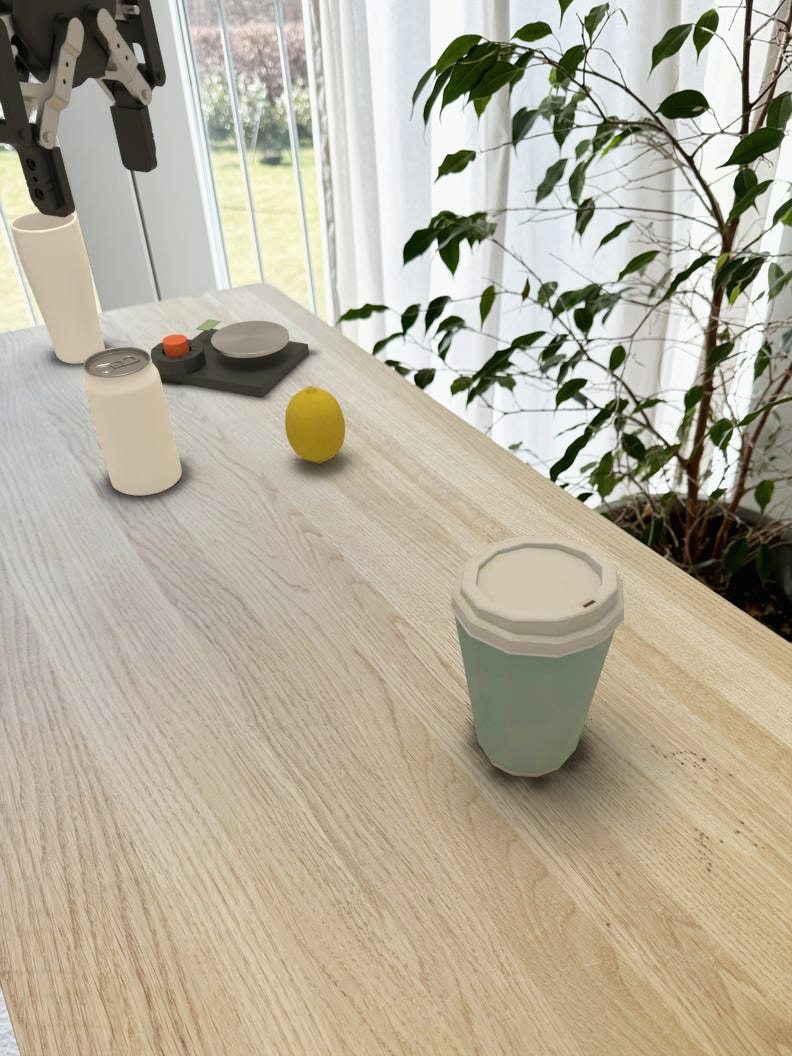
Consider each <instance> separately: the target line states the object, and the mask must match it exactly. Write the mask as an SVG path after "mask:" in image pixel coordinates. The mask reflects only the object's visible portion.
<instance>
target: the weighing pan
mask: <svg viewBox="0 0 792 1056" xmlns="http://www.w3.org/2000/svg"><path fill="white" fill-rule="evenodd" d="M220 323H221V320H217V319H211V318H208V319H206V320H205V321H203V322H202V323H201V324H200V325H198V326H197V327H196V328H195V329H196V330H199V331H209V330H211V329H214V328H215V327H216V326H217V325H219V324H220ZM289 341H290V332H289V331H288V329H287V328H286V327H285V326H283V325H281V324H279V323H276V322H272V321H267V320H247V321H239V322H234V323H232V324H231V323H230V324H228V325H226V326H224V327H222V328H220V329H218V331H217V332H215V333H214V335H213V336H212V338H211V344H212V348H213V349H214V350H215V351H216V352H217V353H219V354H221V355H224V356H228V357H233V358H254V357H261V356H265V355H269V354H272V353H274V352H277V351H279V350H280V349H282V348H283V347H285V346H286V345H287V343H288V342H289Z"/></svg>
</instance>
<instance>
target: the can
mask: <svg viewBox="0 0 792 1056" xmlns="http://www.w3.org/2000/svg"><path fill="white" fill-rule="evenodd" d="M82 367H83V370H84V375H83V379H82V381H83V382H82V384H83V389H84V393H85V396H86V400H87V403H88V407H89V411H90V414H91V418H92V421H93V425H94V428H95V432H96V435H97V439H98V442H99V445H100V449H101V452H102V457H103V460H104V463H105V466H106V469H107V473H108V477H109V481H110V483H111V486H112V488H114V489H115V490H116V491H118V492H119V493H122V494H125V495H130V496H136V497H137V496H141V497H143V496H150V495H154V494H158V493H161V492H164V491H166V490H168V489H170V488H172V487H173V486H174V485H176V483H177V482H179V480H180V479H181V477H182V474H183V470H182V465H181V464H182V463H181V459H180V455H179V452H178V447H177V443H176V438H175V433H174V429H173V425H172V421H171V417H170V413H169V408H168V404H167V400H166V395H165V393H164V387H163V384H162V380H161V379H160V375H159V372H158V370H157V368H156V367H155V365H154V364H153V363H152V360H151V354H150V353H149V352H148V351H147V350H144V349H142V348H140V347H134V346H116V347H110V348H105V350H102V351H99V352H97V353H95V354H93V355H91V356H90V357H88V358H87V359H86V360H85V362H84V363H82Z"/></svg>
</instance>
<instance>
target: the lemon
mask: <svg viewBox="0 0 792 1056" xmlns="http://www.w3.org/2000/svg"><path fill="white" fill-rule="evenodd" d="M344 416H345V415H344V414H343V410H342V408H341V406H340V403H339V401H338V400H337V399H336V398H335V396H333V394H332V393H330V392H328V391H327V390H325V389H322V388H319V387H315V386H313V385H309V386H307V387H306V388H303V389H301V390H300V391H298V392H295V394H293V396H292V397H291V398H290V400H289V402H288V403H287V406H286V410H285V416H284V426H285V427H284V428H285V435H286V438H287V442H288V443H289V445H290V447H291V449H292V450H293V451H294V452H295V454H296V455H298V456H299V457H300V458H302V459H303V460H306V461H309V462H312V463H313V462H314V463H316V464H318V465H321V464H323V463H324V462H327V461H329V460H330V459H332V458H334V457H335V456H336V455H337V454H338V453H339V452H340V450H341V449H342V447H343V445H344V442H345V438H346V437H345V436H346V421H345V417H344Z"/></svg>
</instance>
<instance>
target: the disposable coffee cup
mask: <svg viewBox="0 0 792 1056" xmlns="http://www.w3.org/2000/svg"><path fill="white" fill-rule="evenodd" d="M454 578H455V579H454V582H453V587H452V593H451V599H450V604H449V609H450V611H451V612H452V614H453V615H454V621H455V625H456V630H457V631H456V632H457V636H458V642H459V647H460V652H461V658H462V663H463V668H464V673H465V679H466V686H467V691H468V695H469V701H470V707H471V712H472V717H473V723H474V728H475V734H476V739H477V743H478V744H479V746H480V748H481V749H482V751H483V753H484V754H485V755H486V757H487V759H488V760H489V762H490V764H491V765H492V766H493V767H495V768H497V769H499V770H501V771H503V772H504V773H507V774H509V775H511V776H514V777H515V776H516V777H529V778H539V777H541V776H543V775H547V774H549V773H552V772H555V771H558V770H559V769H560V768H561V767H562V766H563V765H564V764H565V762H567V760H568V759H569V758H570V757H571V755H572V754H573V753H574V752H575V751H576V750H577V747H578V744H579V741H580V738H581V735H582V733H583V732H582V731H583V729H584V726H585V723H586V719H587V717H588V713H589V712H590V711H589V710H590V708H591V705H592V702H593V698H594V695H595V692H596V689H597V687H598V684H599V681H600V677H601V674H602V671H603V668H604V664H605V662H606V659H607V656H608V653H609V650H610V647H611V644H612V641H613V638H614V636H615V635H614V634H615V632H616V630H617V629H618V628H619V626H621V624H622V623H623V622H624V621H625V598H624V595H625V594H624V584H623V583H624V581H623V580H624V579H622V578H621V577H620V576H619V574H618V566H617V565H616V564H615V563H613V561H611V560H610V559H609V558H608V557H607V556H605V554H603V553H602V552H601V551H600V550H599V549H598V548H597V547H595V546H593V545H590V544H587V543H583V542H580V541H577V540H574V539H571V538H568V537H564V536H561V535H528V534H527V535H526V534H523V535H519V536H515V537H511V538H507V539H504V540H499V541H496V542H492V543H489V544H487V545H486V546H484V547H482V548H481V549H480V550H478V551H477V552H476V553H475V554H474V555H472V557H470V558H469V559H468V560H466V561H465V562H464V563H463V564H461V565H460V566H459V567H458V568H457V569H456V573H455V577H454Z"/></svg>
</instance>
